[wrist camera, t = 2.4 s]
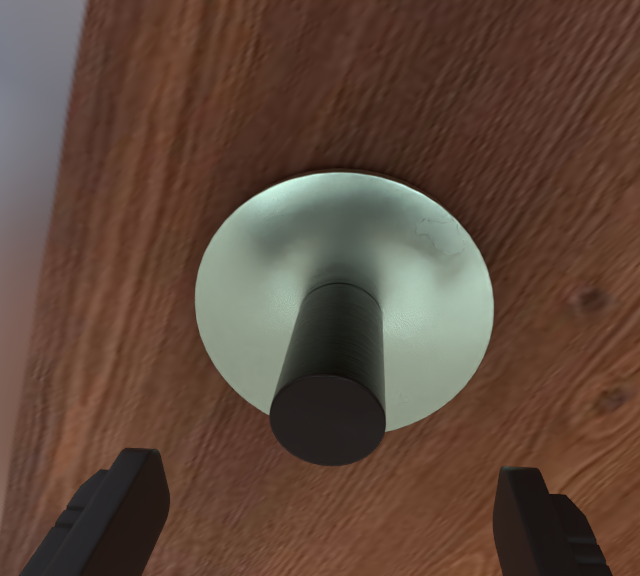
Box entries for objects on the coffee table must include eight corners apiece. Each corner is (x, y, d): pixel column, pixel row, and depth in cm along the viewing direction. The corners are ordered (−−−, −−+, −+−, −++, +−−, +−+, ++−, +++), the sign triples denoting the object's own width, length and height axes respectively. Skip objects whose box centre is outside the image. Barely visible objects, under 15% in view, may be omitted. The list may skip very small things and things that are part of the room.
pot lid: (222, 412, 22) (165, 548, 16) (183, 167, 17) (81, 227, 11) (472, 422, 21) (513, 571, 15) (505, 161, 16) (584, 224, 10)
